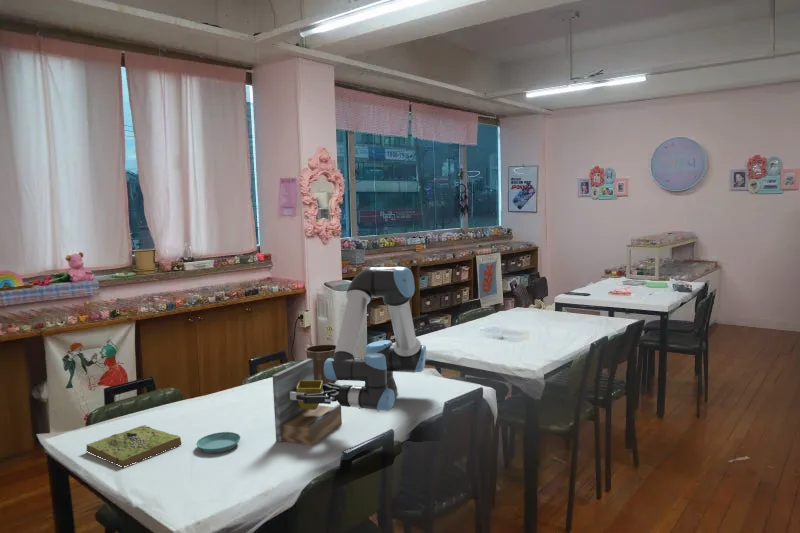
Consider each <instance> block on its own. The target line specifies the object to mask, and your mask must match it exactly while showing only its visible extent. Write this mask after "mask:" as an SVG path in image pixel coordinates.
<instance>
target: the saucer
mask: <svg viewBox="0 0 800 533" xmlns="http://www.w3.org/2000/svg"><path fill="white" fill-rule="evenodd" d="M240 440H241V435H240V434H239V433H236V432H233V431H232V432H231V431H222V432H221V431H220V432H215V433H211V434H208V435H205V436H203V437H200V438H199V439H198V440H197V441H196V443H195V444H196V446H197V447H198V448H199V449H200V450H201V451H203V452H204V453H206V454H218V453H225V452H228V451H230V450H232V449H233V448H235V446H236V445H238V443H239V442H240Z"/></svg>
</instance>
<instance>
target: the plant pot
mask: <svg viewBox="0 0 800 533" xmlns="http://www.w3.org/2000/svg"><path fill="white" fill-rule="evenodd" d="M336 345H337V344H317V345H315V344H314V345H311V346H308V347H306V348H305V350H304V351H305V353H306V359H313V369H314V381H323V384H327V383H328V382H330V383H334V382H337V380H330V379H327V378H326V377H325V375H324V363H325V361H326V360H327V359H328V358H333V357H334V353H335V349H336Z"/></svg>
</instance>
